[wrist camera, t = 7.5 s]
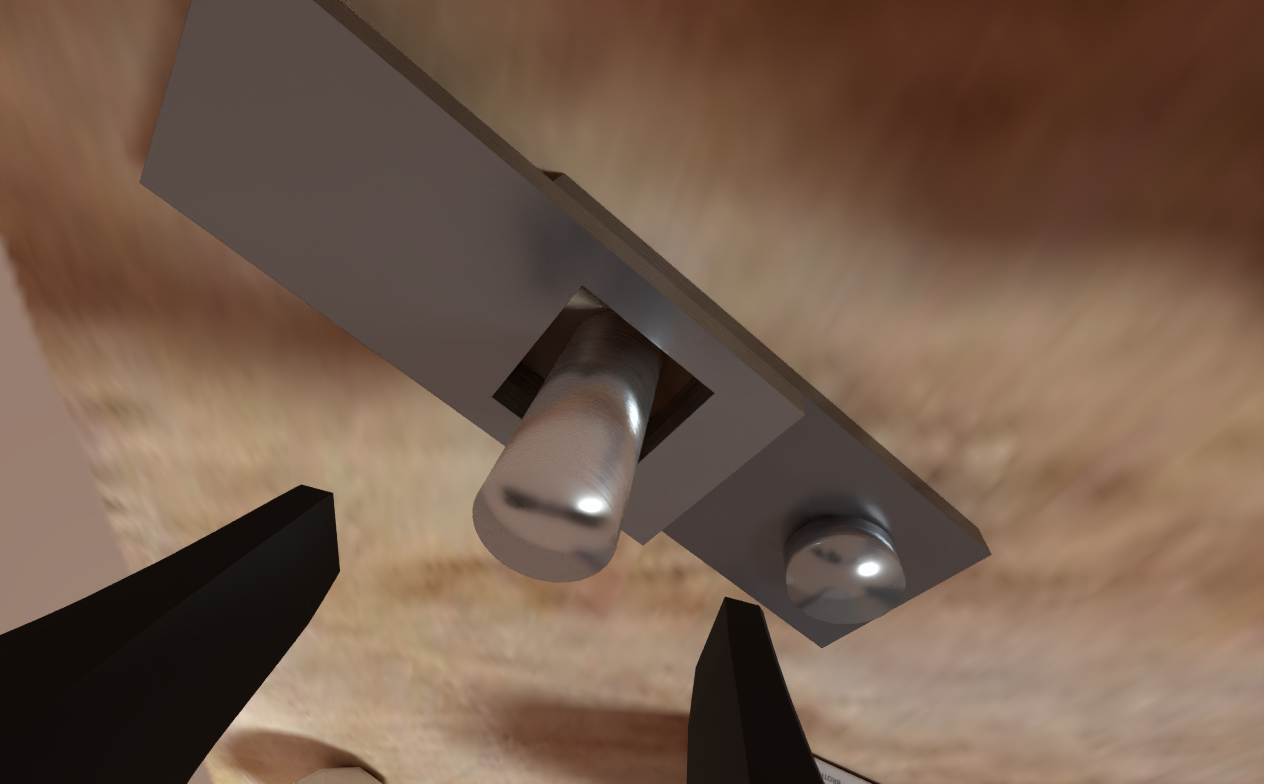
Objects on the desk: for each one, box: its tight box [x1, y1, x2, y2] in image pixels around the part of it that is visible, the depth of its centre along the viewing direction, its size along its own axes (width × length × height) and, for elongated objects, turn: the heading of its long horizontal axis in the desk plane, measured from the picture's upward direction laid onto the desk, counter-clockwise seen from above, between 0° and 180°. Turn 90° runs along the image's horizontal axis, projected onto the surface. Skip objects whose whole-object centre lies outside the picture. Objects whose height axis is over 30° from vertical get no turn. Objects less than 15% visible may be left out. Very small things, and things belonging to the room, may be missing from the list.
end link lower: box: [506, 173, 992, 648], centre depth 19 cm, size 18×7×2 cm, turn 51°
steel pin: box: [473, 311, 663, 582], centre depth 15 cm, size 3×3×8 cm
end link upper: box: [140, 0, 805, 545], centre depth 17 cm, size 18×7×2 cm, turn 51°
